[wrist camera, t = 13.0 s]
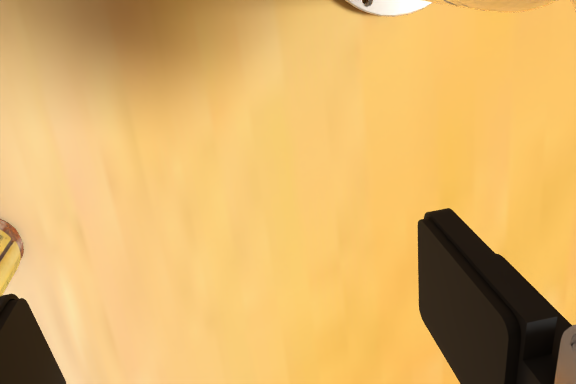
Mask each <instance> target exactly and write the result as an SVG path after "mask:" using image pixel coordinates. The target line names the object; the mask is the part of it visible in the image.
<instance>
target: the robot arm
mask: <svg viewBox="0 0 576 384" xmlns="http://www.w3.org/2000/svg"><path fill="white" fill-rule="evenodd" d="M345 1H346V2H348V3H349V4H351V5H352V6H354V7H355V8H357V9H359V10H362V11H364V12H367V13H370V14H374V15H379V16H394V17H395V16H401V15H407V14H411V13H413V12H416V11H418V10H421V9H423V8H425V7H427V6H428V5H430V4H432V3H439V4H446V5H452V6H458V7H465V8H471V9H477V10H484V11H494V12H522V11H528V10H533V9H537V8H540V7H543V6H546V5H549V4H551V3H553V2H555V1H557V0H367V2H366V3H363V2H362V0H345ZM571 2H572V4H573V6H574V9H575V11H576V0H571ZM418 273H419V310H420V314H421V317H422V320H423V321H424V323H425V325H426V327H427V328H428V330H429V332H430V333H431V335H432V337H433V338H434V340H435V342H436V343H437V345H438V347H439V348H440V350H441V352H442V353H443V355H444V357H445V358H446V360H447V362H448V363H449V365H450V367H451V368H452V370H453V372H454V373H455V375H456V377H457V378H458V380H459V382H460V383H461V384H576V325H573V326H572V325H571V324H570V323H569V322H568V321H567V320H566V319H565V318H564V317H563V316H562V315H561V314H560V313H559V312H558V311H557V310H556V309H555V308H554V307H553V306H552V305H551V304H550V303H549V302H548V301H547V300H546V299H545V298H544V297H543V296H542V295H541V294H540V293H539V292H538V291H537V290H536V289H535V288H534V287H533V286H532V285H531V284H530V283H529V282H528V281H527V280H526V279H525V278H524V277H523V276H522V275H521V274H520V273H519V272H518V271H517V270H516V269H515V268H514V267H513V266H512V265H511V264H510V263H509V262H508V261H507V260H506V259H505V258H503V257H502V256H501V255H499V254H495V253H494V252H493V251H492V250H491V249H490V248H489V247H488V246H487V245H486V244H485V243H484V242H483V241H482V240H481V239H480V238H479V237H478V236H477V235H476V234H475V233H474V232H473V231H472V230H471V229H470V228H469V227H468V226H467V225H466V224H465V223H464V222H463V221H462V220H461V219H460V218H459V217H458V216H457V215H456V213H455V212H454V211H453V210H451V209H449V208H447V209H442V210H437V211H432V212H427V213H426V214H425V216H424V219H422V220H419V221H418ZM0 384H66V381H65V379H64V377H63V375H62V373H61V371H60V369H59V366H58V364H57V362H56V360H55V358H54V356H53V354H52V352H51V350H50V348H49V346H48V344H47V342H46V340H45V338H44V336H43V334H42V332H41V329H40V327H39V325H38V323H37V321H36V319H35V317H34V315H33V313H32V311H31V309H30V307H29V305H28V303H27V301H26V300H25V299H23V298H20V299H19V298H18V297H17V296H16V295H15V294H8V295H3V296H0Z"/></svg>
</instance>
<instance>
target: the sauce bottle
mask: <svg viewBox="0 0 576 384" xmlns="http://www.w3.org/2000/svg"><path fill="white" fill-rule="evenodd" d="M23 252H24V249H23V243H22V240H21V238H20V236H19V234H18V232H17V230H16V229H15V228H14V227H13V226H12V225H10V224H9V223H7V222H5V221H3V220H0V296H2V295H3V293H4V291H5V289H6V287H7V286H8V284H9V282H10V280H11V279H12V277H13V275H14V273H15V272H16V270H17V268H18V266H19V263H20V259H21V258H22V256H23Z"/></svg>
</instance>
